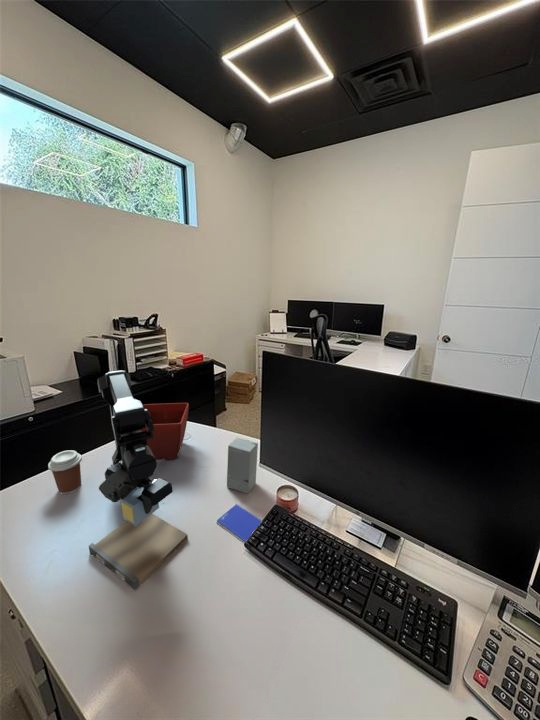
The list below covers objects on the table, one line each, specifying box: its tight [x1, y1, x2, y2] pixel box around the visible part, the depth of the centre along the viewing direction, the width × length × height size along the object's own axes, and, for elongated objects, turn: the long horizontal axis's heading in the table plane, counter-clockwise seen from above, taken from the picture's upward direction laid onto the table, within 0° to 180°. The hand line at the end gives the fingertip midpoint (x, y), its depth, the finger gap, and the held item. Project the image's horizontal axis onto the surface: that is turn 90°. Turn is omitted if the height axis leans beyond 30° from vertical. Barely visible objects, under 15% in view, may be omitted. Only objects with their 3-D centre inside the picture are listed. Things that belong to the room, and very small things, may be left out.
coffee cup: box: [47, 449, 83, 495], centre depth 97 cm, size 9×9×12 cm
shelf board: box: [88, 513, 189, 591], centre depth 77 cm, size 18×16×2 cm
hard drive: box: [216, 504, 262, 543], centre depth 85 cm, size 2×8×12 cm
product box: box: [119, 487, 160, 526], centre depth 76 cm, size 7×5×6 cm
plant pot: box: [140, 402, 190, 461], centre depth 118 cm, size 19×19×17 cm
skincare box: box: [226, 437, 259, 494], centre depth 99 cm, size 8×7×16 cm
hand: (141, 508), depth 76 cm, fingers closed on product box, 5 cm apart
